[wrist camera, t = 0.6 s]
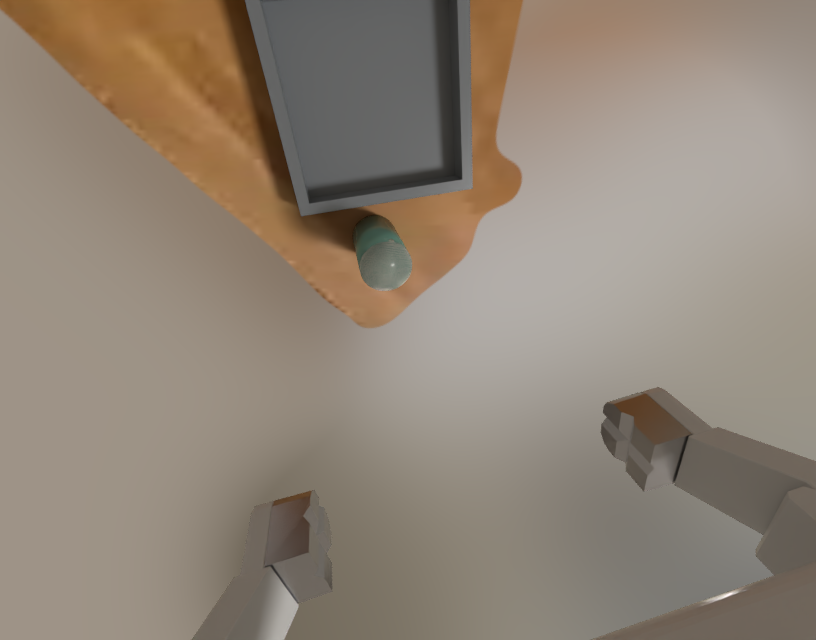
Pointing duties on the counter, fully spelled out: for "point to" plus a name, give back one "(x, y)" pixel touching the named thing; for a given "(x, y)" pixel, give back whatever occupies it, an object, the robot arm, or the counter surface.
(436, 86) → the tray
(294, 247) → the counter surface
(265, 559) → the robot arm
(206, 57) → the counter surface
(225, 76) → the counter surface
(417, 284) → the counter surface
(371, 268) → the green rounded cylinder
